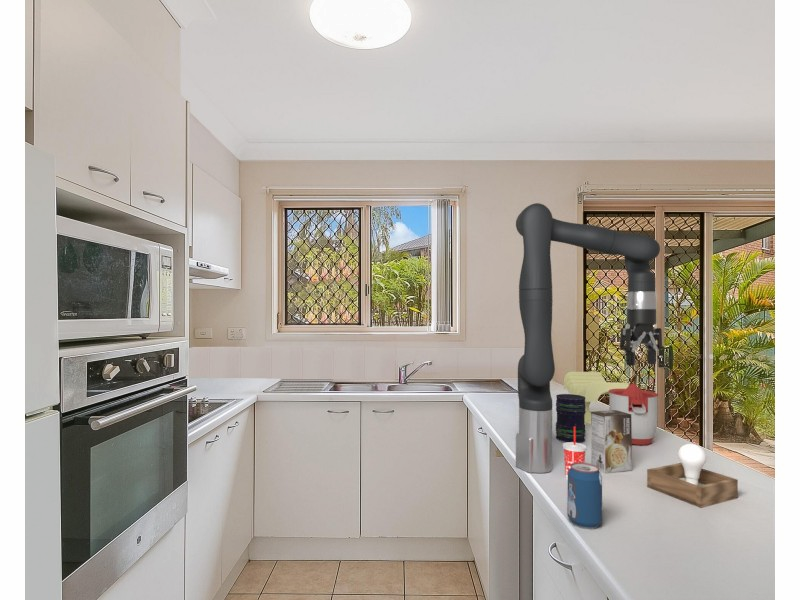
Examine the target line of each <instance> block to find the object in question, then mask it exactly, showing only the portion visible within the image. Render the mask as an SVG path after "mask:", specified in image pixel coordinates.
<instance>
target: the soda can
mask: <svg viewBox="0 0 800 600" xmlns="http://www.w3.org/2000/svg"><path fill="white" fill-rule="evenodd" d="M566 508H567V517H568V519H569V521H570V523H571V524H572V525H574V526H576V527H578V528H580V529H585V530H593V529H596V528H598V527H599V526H600V524H602V521H603V476H602V474H601V471H600V470H599V468H598V467H597V466H595V465H593V464H591V463H588V462H585V463H573V464H571V468H570V469H569V471H568V480H567V507H566Z"/></svg>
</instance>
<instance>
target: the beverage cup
mask: <svg viewBox="0 0 800 600" xmlns="http://www.w3.org/2000/svg"><path fill="white" fill-rule="evenodd" d="M575 441H576V427H575V426H574V442H564V443H562V448H563V457H564V459H563V460H564V474H565V475H564V476H565V479H566V480H567V481H568V471H569V469H570V468H571V464H573V463H586V451H587V445H586V444H583V443H575Z"/></svg>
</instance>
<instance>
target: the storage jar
mask: <svg viewBox="0 0 800 600" xmlns="http://www.w3.org/2000/svg"><path fill="white" fill-rule="evenodd" d="M555 396H556V397H555V398H556V400H555V402H556V403H555V412H556V422H555V434H556V436H555V439H556V440H558V441H559V442H564V443H566V442H574V426H575V427H576V441H575V443H581V444H583V443H584V442H586V438H585V437H586V423H585V412H586V411H585V408H586V405H585V397H584V396H580V395H573V394H569V393H562V394H556V395H555Z"/></svg>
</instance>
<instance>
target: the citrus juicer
mask: <svg viewBox="0 0 800 600" xmlns="http://www.w3.org/2000/svg"><path fill="white" fill-rule="evenodd" d="M608 395H609V397H608V398H609V399H608V400H609V404H608V405H609V410H608V411H611V410H617V411H621V412H625V413H628V414H631V422H632V445H640V446H641V445H643V446H648V445H650V444H652V442H653V441H654V438H655V434H656V432H657V427H658V405H659V404H658V401H659V400H658V399H659V398H658V396H659V394H658V393H657V392H654V391H651V390H650V391H649V390H646V389H644V390H643V389H640V388H639V387H638V386H637V385H636V384H635V383H631V384H629V385H628V387H627V388H626V389H611V390H609V394H608Z"/></svg>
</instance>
